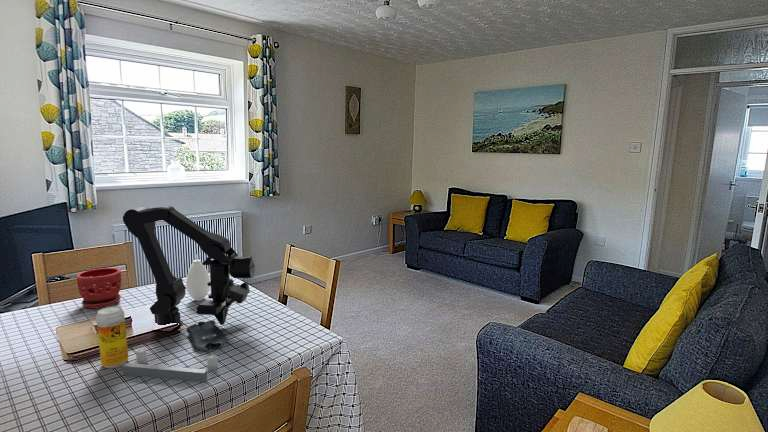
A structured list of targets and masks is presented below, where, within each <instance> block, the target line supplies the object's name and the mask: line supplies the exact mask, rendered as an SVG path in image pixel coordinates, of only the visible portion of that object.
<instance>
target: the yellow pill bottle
mask: <svg viewBox="0 0 768 432" xmlns="http://www.w3.org/2000/svg"><path fill="white" fill-rule="evenodd" d="M125 318H126V317H125V311H124V310H123V308H122V307H121V306H118V305H117V306H112V305H111V306H107V307H105V308H103V307H102V308H100V309H99V310H98V311H97V314H96V327H97V329H96V330H97V335H98V336H97V337H98V346H99V354H100V364H101V366H103V367H104V368H106V369H115V368H119V367H122V365H124V364H125V363H127V361H128V360H129V351H128V350H129V347H128V338H127V328H126V319H125Z"/></svg>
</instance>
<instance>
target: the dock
mask: <svg viewBox="0 0 768 432" xmlns="http://www.w3.org/2000/svg"><path fill="white" fill-rule="evenodd" d="M135 358H136V363H132V362H126V363H125V364H123V365H121V371H122V376H128V377H129V376H133V377H141V378H154V379H161V380H162V379H163V380H165V379H166V380H171V381H172V380H173V381H183V382H184V381H185V382H193V383H196V382H197V383H206V382H207V381H208V376H209V375H208V373H215V372H217V371H218V370H219V367H218V355H216V354H211V355H208V356H207V358H206V360H207V369H203V368H202V369H201V368H200V369H198V368H189V367H188V368H187V367H178V366H167V365H155V364H154V365H153V364H148V353H147V349H145V348H141V349H138V350H136V351H135Z"/></svg>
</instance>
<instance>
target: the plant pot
mask: <svg viewBox="0 0 768 432" xmlns="http://www.w3.org/2000/svg"><path fill="white" fill-rule="evenodd" d="M76 282H77V283H76V284H77V288H78V289H77V290H78V293H79V295H80V296H81V298H82V299H83V300H82V301H81V305H82V306H84V307H85V308H89V309H103V308H107V307H111V306H112V305H114V304H117V303H118V302H119V301H120V300H121V296H122V295H121V294H119V293H120V291H121V287H122V270H121V269H120V268H118V267H101V268H95V269H89V270H86V271H85V270H84V271H83V272H80V273H78V274H77V275H76Z"/></svg>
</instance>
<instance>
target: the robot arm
mask: <svg viewBox="0 0 768 432" xmlns="http://www.w3.org/2000/svg"><path fill="white" fill-rule="evenodd" d="M160 221H163V222H165V223H166V224H168V225H169V226H171V227H172V228H174V229H175V230H176V231H178V232H180V233H181V234H182V235H184V236H185V237H187V238H189V239H190V240H192V241H193V242H195V243H196V244H197V245H198V247H199V248H200V250H201V251H202V252H203V253H204V254H205V255H206V256H207V257H206V259H205V260H204V261H203V262H201V263H202V265H204V266H209V279H210V282H208V286H210V294H208V295H207V296H208V297H207V298H208V299H211V300H204V301H202V302H201V303H200V304H198V305H197V306H196V307H195V308H196V314H197V315H205V316H206V315H207V316H214V318H215V319H216V320H217V322H218V323H219V324H220V326H223V325H225V323H226V321H227V320H226V319H227V316H228V312H229V310H230V309H229V308H230V307H231V306H232V305H233V304H234V303H236V304H242V303H243V302H244V301H246V300H247V297H248V294H250V293H251V291H250V285H249V283H247V282H246V281H244V282H242V283H241V284H235V283H234V280H233V279H253V278H254V277H255V272H256V265H255V262H254V260H253V256H251V255H249V256H248V255H247V256H239V255H238V253H237V252H236V251H235V250H234V248H233V247H232V246H231V241H230V240H229V239H228V238H227V237H225V236H222V235H220V234H218V233H216V232H215V233H214V232H211V231H208V230H206V229H204V228H203V227H202V226H201V225H199V224H197V223H196V222H194V221H193V220H192V219H190V218H188V217H187V216H186V215H184V214H183V213H181V212H180V211H178V210H177V209H176V208H175V207H174V206H171V205H165V206H159V207H152V208H149V207H148V206H137V207H134V208H130V209H128V210H126V211H125V212H124V213H123V216H122V222H123V224H124V226H126V228H127V230H128V232H129V233H131V234H132V235H133V236H134V237H135V239H137V240H138V242H139V245H140V247H141V249H142V251H143V254H144V256H145V258H146V261H147V263H148V265H149V267H150V270H151V272H152V276H153V277H154V280H155V296H156V301H155V302H154V303H153V304H152V305H151V306H150V307H149V311H150V312H151V315H153V316H154V324H155V323H157V324H158V325H166V324H170V323H179V325H180V326H181V325H182V324H184V323H183V321H181V313H180V312H181V311H180V310H179V307H177V306H178V305H180V303H181V301H182V300H183V299H184V298H185V295H186V292H187V291H186V290H187V286H185V284H184V281H183V277H182V276H181V277H179V278H177V277H176V276H174V275H173V273H172V271H171V269H170V267H169V263H168V262H167V259H166V257H165V254H164V252H163V249H162V247H161V244H160V242H159V240H158V237H157V235H156V222H160ZM179 311H180V312H179Z"/></svg>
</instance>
